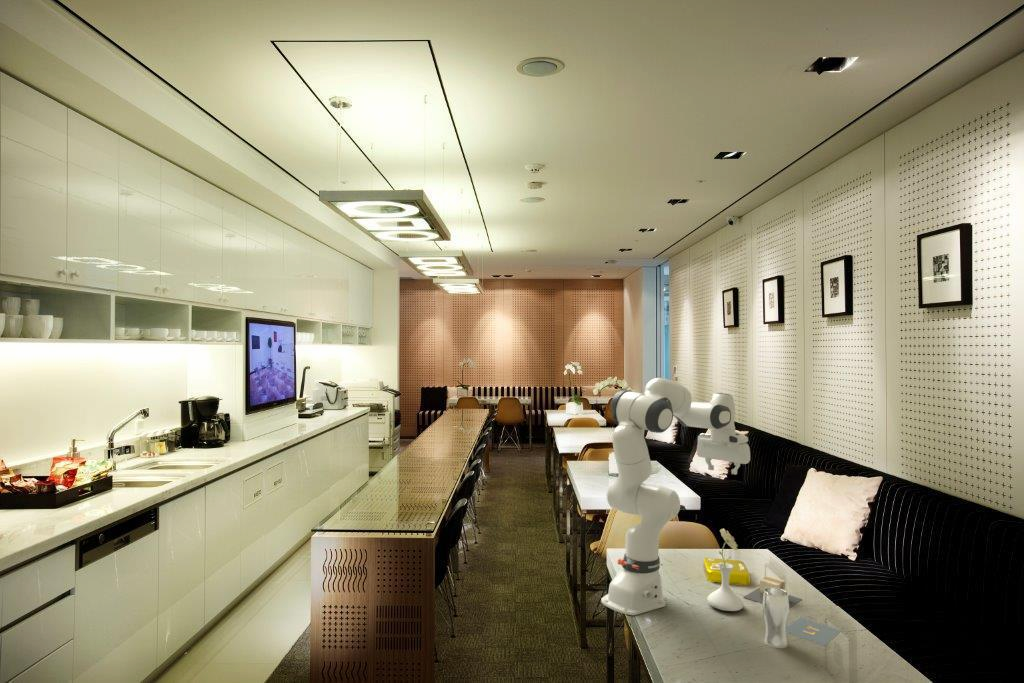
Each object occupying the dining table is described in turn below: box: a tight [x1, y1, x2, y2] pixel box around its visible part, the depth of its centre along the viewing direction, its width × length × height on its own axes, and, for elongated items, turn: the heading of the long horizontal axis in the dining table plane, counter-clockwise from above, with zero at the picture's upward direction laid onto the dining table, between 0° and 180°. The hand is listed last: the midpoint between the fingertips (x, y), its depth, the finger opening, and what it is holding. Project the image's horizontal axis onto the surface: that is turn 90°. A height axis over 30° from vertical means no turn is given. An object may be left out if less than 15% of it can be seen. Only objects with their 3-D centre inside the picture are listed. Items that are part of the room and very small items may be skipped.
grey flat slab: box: [786, 616, 842, 647], centre depth 175 cm, size 14×12×1 cm
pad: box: [743, 587, 803, 609], centre depth 197 cm, size 14×14×1 cm
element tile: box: [702, 557, 751, 586], centre depth 217 cm, size 15×15×5 cm
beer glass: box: [762, 587, 790, 649], centre depth 167 cm, size 7×7×15 cm
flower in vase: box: [706, 528, 745, 612], centre depth 192 cm, size 13×11×25 cm
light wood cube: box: [759, 575, 786, 598], centre depth 198 cm, size 6×6×6 cm
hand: (722, 472), depth 218 cm, fingers open, 8 cm apart
